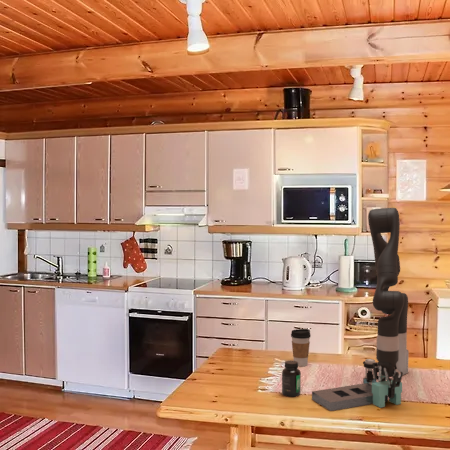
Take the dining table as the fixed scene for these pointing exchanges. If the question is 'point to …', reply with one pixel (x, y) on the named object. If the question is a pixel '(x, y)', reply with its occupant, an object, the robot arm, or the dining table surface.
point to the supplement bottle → (291, 379)
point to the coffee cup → (300, 346)
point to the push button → (369, 372)
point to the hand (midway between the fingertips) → (386, 395)
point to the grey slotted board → (345, 397)
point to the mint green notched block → (385, 393)
